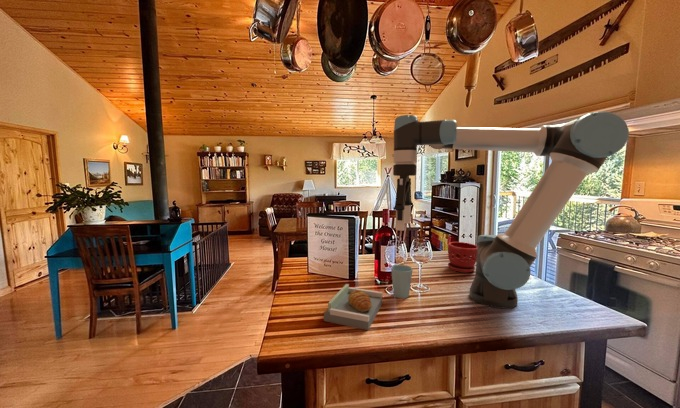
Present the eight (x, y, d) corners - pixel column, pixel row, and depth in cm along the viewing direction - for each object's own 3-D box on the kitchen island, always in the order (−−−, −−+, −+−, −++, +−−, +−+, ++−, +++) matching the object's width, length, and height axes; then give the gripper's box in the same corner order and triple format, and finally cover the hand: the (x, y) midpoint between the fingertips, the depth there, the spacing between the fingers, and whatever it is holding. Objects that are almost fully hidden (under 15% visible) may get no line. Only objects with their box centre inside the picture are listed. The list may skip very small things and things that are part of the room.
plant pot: (465, 276, 123) (466, 249, 121) (441, 267, 134) (442, 243, 133) (483, 271, 129) (485, 245, 128) (459, 263, 140) (460, 240, 139)
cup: (416, 297, 101) (417, 269, 100) (399, 301, 98) (399, 272, 97) (403, 289, 108) (404, 263, 107) (386, 293, 105) (387, 266, 104)
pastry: (377, 311, 86) (377, 299, 86) (356, 315, 84) (356, 303, 84) (364, 298, 95) (364, 287, 95) (345, 301, 93) (345, 290, 92)
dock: (382, 303, 97) (382, 288, 96) (368, 330, 80) (368, 311, 80) (344, 297, 102) (344, 282, 101) (323, 321, 85) (323, 303, 85)
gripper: (399, 165, 106) (398, 220, 109) (385, 162, 83) (384, 232, 86) (420, 164, 104) (418, 221, 106) (411, 162, 81) (409, 234, 83)
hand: (403, 226), depth 96 cm, fingers open, 13 cm apart
